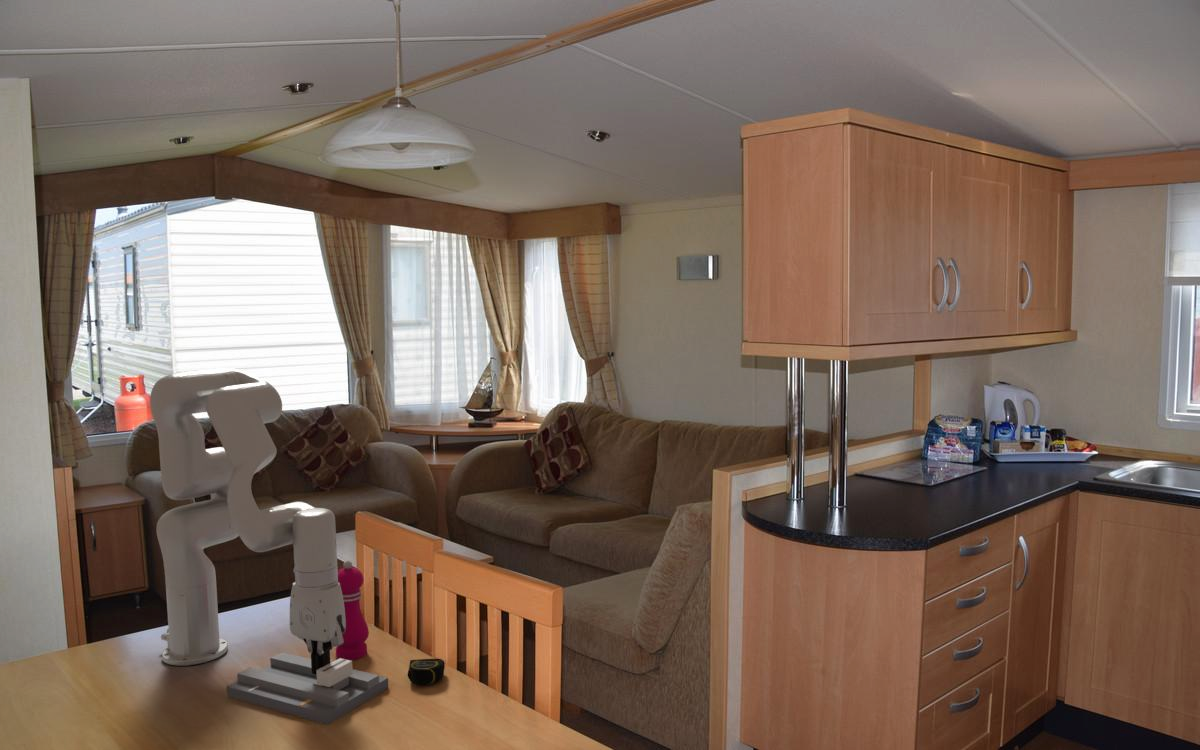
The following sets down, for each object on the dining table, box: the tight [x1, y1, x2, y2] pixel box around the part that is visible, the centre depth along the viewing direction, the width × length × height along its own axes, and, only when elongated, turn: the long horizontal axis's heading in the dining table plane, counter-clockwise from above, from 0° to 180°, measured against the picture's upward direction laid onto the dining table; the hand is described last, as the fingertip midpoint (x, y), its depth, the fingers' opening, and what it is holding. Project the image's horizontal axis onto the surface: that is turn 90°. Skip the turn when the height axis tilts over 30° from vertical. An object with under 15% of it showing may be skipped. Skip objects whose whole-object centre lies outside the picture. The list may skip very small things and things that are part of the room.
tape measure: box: [407, 658, 446, 686], centre depth 175 cm, size 7×7×4 cm
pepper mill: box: [335, 560, 370, 661], centre depth 188 cm, size 7×7×20 cm
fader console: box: [226, 652, 389, 725], centre depth 171 cm, size 25×16×4 cm, turn 63°
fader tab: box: [316, 658, 353, 690], centre depth 168 cm, size 3×6×4 cm, turn 153°
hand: (321, 671), depth 169 cm, fingers closed
